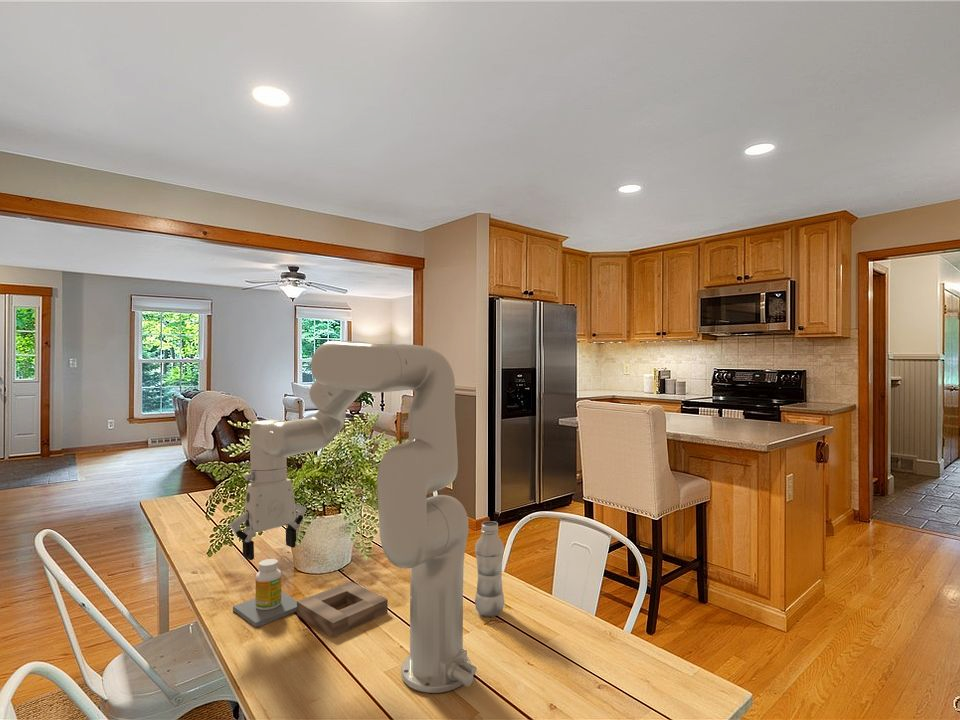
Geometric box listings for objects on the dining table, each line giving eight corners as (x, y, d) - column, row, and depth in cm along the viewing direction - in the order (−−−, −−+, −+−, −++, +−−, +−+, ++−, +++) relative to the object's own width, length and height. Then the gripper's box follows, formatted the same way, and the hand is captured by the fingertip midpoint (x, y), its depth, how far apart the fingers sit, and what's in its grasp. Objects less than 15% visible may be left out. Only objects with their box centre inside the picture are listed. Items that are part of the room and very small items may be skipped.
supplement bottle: (272, 612, 115) (272, 567, 115) (250, 609, 116) (250, 565, 116) (286, 600, 121) (286, 558, 120) (265, 598, 122) (264, 556, 122)
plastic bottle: (510, 612, 117) (510, 523, 117) (490, 624, 113) (490, 530, 112) (488, 603, 122) (489, 517, 122) (468, 613, 117) (468, 523, 117)
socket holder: (387, 612, 117) (387, 599, 117) (332, 637, 107) (332, 623, 107) (350, 593, 127) (350, 581, 127) (296, 615, 116) (296, 601, 116)
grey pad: (303, 608, 119) (303, 604, 119) (255, 627, 111) (255, 622, 111) (279, 594, 126) (279, 589, 126) (232, 610, 118) (232, 606, 118)
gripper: (237, 485, 109) (239, 568, 109) (312, 471, 122) (314, 545, 122) (222, 480, 114) (223, 559, 114) (296, 467, 127) (297, 538, 127)
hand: (270, 552), depth 118 cm, fingers open, 9 cm apart
